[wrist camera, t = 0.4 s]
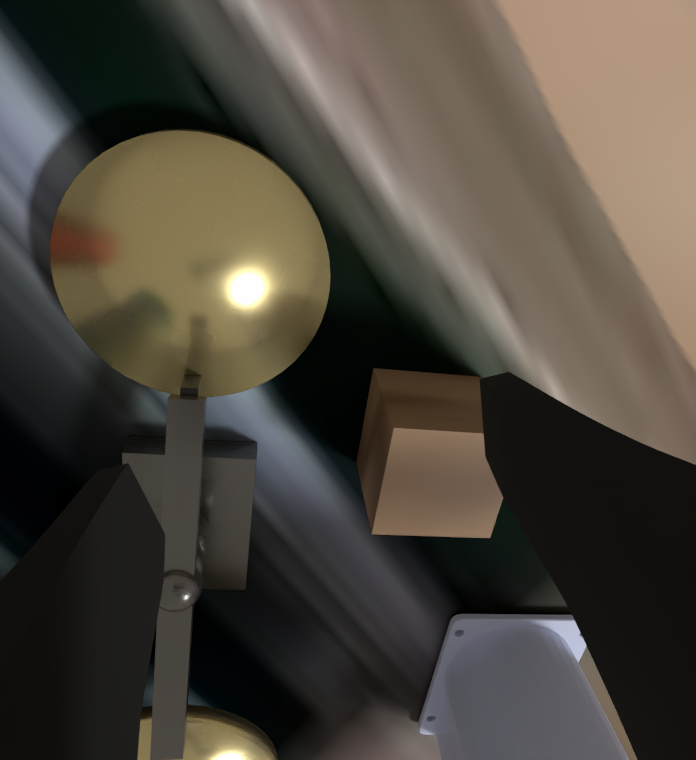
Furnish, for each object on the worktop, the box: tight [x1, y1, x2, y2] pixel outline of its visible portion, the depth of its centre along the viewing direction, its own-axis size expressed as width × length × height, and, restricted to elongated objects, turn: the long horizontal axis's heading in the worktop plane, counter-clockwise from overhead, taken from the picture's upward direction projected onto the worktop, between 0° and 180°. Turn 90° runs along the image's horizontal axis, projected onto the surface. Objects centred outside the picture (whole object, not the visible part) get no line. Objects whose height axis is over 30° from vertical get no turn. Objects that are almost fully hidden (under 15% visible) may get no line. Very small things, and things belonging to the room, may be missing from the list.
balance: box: [50, 128, 330, 760], centre depth 22 cm, size 30×9×7 cm, turn 172°
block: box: [356, 368, 503, 538], centre depth 22 cm, size 4×4×4 cm
